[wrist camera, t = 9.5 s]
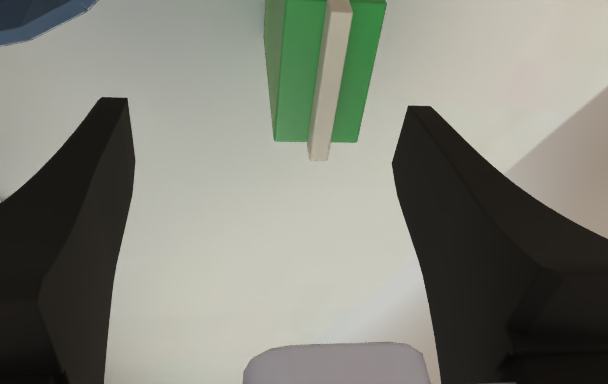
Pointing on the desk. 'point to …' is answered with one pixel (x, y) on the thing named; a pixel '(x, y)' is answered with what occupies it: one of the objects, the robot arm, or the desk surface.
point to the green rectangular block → (320, 68)
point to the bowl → (36, 17)
